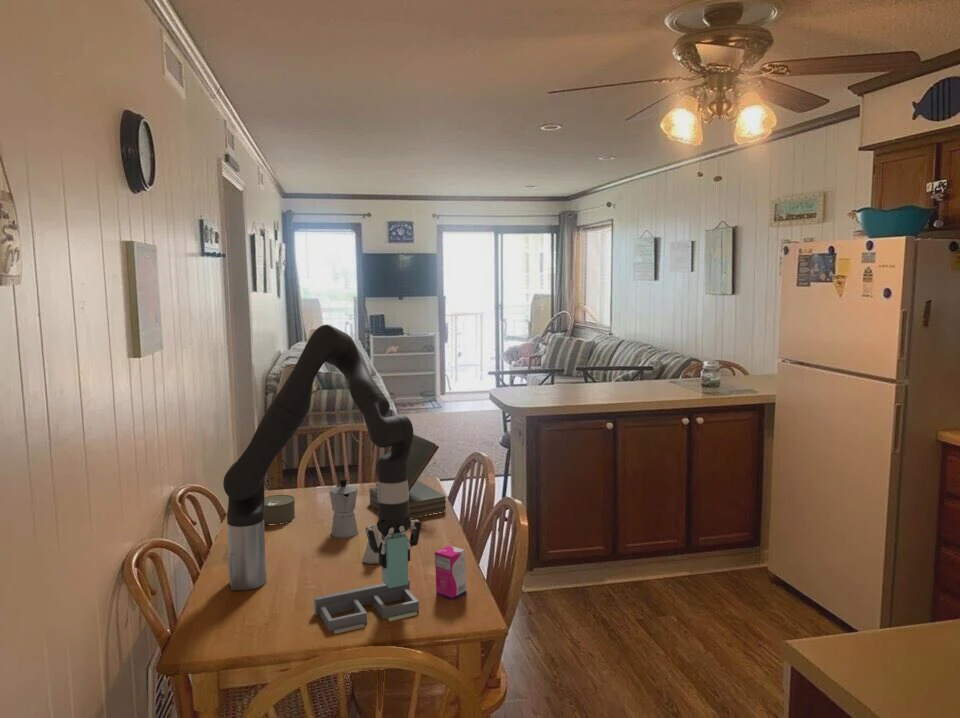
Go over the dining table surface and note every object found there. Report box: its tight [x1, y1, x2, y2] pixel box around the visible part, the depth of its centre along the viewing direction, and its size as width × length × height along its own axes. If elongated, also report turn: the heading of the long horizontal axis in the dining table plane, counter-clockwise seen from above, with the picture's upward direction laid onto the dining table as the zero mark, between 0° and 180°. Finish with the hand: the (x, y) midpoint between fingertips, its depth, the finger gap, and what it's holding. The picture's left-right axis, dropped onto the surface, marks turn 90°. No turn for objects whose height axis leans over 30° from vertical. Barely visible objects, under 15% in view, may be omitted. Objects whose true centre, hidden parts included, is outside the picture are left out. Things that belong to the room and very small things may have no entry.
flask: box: [361, 524, 380, 565], centre depth 197 cm, size 7×7×10 cm
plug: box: [381, 532, 409, 588], centre depth 167 cm, size 5×5×13 cm
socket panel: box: [313, 579, 420, 635], centre depth 165 cm, size 24×12×4 cm, turn 116°
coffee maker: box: [329, 478, 359, 539], centre depth 219 cm, size 15×9×18 cm, turn 22°
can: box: [264, 494, 296, 525], centre depth 233 cm, size 12×12×7 cm
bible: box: [369, 433, 447, 520], centre depth 243 cm, size 23×20×25 cm
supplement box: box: [434, 545, 467, 601], centre depth 175 cm, size 6×6×12 cm
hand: (394, 564), depth 167 cm, fingers closed on plug, 5 cm apart
